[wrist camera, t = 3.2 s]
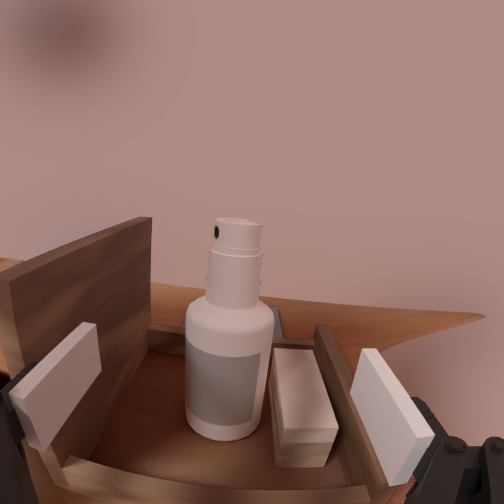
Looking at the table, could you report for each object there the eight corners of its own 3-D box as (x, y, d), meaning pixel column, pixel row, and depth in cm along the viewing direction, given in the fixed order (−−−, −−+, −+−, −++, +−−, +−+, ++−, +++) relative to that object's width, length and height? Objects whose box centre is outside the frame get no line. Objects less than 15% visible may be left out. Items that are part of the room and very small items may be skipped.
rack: (55, 485, 15) (-11, 277, 11) (140, 342, 38) (139, 216, 35) (375, 517, 15) (475, 324, 12) (320, 360, 39) (343, 235, 35)
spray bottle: (176, 402, 28) (179, 213, 24) (239, 390, 31) (256, 215, 28) (202, 450, 22) (211, 228, 18) (273, 431, 26) (306, 229, 22)
